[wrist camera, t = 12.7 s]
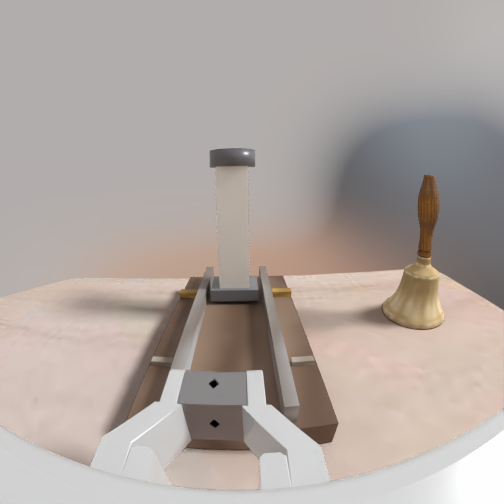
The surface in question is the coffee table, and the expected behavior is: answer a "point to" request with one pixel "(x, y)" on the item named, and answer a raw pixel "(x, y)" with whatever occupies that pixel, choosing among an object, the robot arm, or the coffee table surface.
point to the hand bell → (419, 272)
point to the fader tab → (233, 225)
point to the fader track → (244, 354)
